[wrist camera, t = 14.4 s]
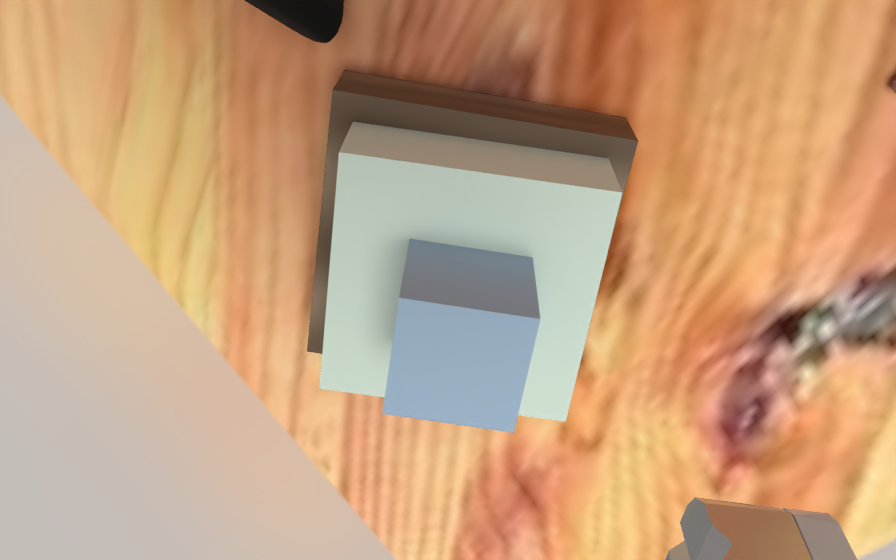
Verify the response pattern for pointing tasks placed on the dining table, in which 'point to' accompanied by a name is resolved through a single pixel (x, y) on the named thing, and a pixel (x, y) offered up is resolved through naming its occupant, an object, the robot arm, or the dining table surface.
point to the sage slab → (464, 244)
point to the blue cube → (462, 336)
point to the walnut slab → (462, 118)
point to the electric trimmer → (306, 16)
